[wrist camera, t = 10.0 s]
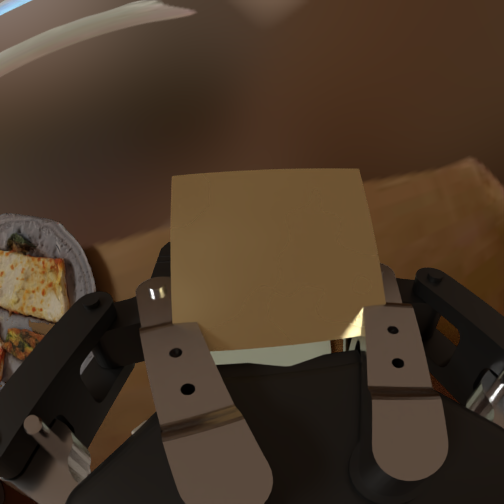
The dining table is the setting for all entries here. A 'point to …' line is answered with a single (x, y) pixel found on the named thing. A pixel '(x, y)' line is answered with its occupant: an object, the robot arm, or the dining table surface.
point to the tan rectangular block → (272, 256)
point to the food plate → (36, 283)
